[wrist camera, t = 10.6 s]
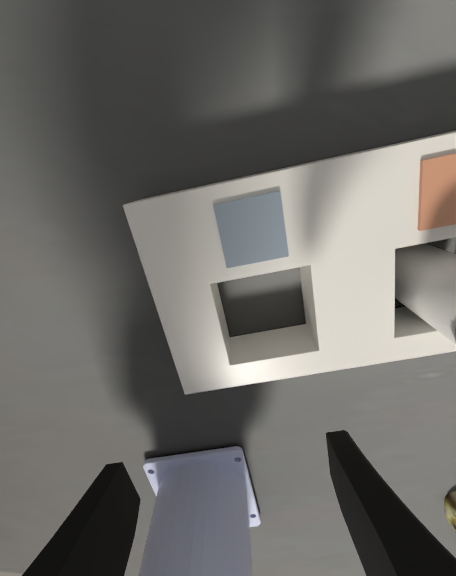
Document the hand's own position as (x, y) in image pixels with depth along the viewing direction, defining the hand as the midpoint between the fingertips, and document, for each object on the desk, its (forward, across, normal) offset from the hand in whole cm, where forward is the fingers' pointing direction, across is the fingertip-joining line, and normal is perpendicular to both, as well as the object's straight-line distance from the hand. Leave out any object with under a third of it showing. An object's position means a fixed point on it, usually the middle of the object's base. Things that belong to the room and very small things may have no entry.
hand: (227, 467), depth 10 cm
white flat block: (+9, -7, -4) cm, 12 cm away
